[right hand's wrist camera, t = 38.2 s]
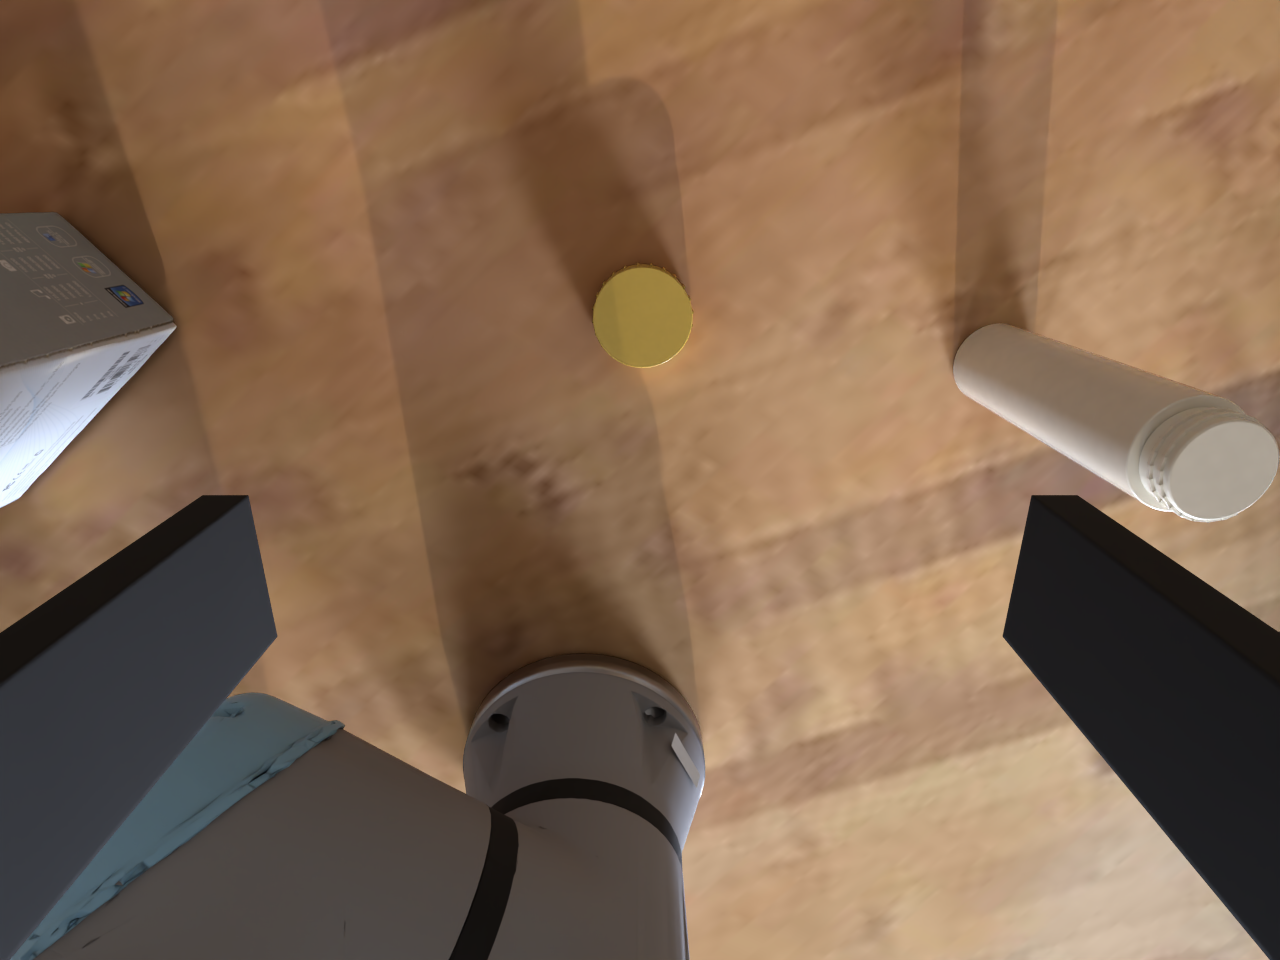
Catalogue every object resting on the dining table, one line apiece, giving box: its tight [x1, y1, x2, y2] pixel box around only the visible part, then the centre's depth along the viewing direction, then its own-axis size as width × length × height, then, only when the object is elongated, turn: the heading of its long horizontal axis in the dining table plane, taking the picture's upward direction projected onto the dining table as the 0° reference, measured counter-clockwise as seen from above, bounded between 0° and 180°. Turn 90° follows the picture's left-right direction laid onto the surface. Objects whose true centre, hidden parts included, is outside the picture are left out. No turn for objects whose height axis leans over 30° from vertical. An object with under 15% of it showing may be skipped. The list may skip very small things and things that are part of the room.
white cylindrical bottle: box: [953, 323, 1279, 522], centre depth 31 cm, size 4×4×17 cm
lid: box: [592, 263, 693, 368], centre depth 37 cm, size 5×5×2 cm
